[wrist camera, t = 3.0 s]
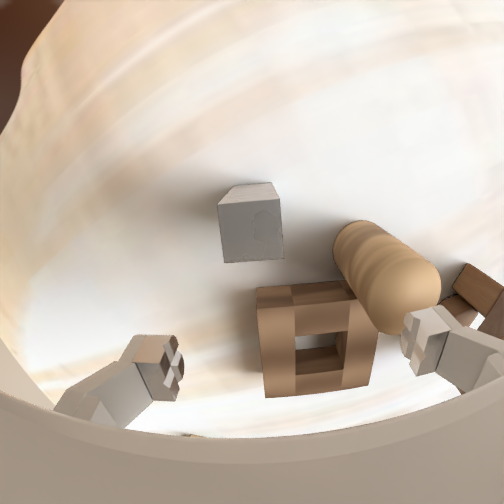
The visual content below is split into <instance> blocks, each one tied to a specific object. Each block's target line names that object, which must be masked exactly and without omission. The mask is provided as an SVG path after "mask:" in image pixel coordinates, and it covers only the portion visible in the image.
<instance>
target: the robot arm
mask: <svg viewBox="0 0 504 504" xmlns="http://www.w3.org/2000/svg"><path fill="white" fill-rule="evenodd" d="M403 323H404V324H405V326H406V328H405V329H404V330H403V331H402V333H401V338H400V346H401V350H402V353H403V355H404V356H405V357H406V358H408V359H410V364H409V365H410V367H411V369H412V370H413V372H414V374H415V376H420V375H424V374H428V373H432V372H435V371H436V372H435V373H437V374H438V375H440V376H441V377H443V378H444V379H446V380H447V381H449V382H450V383H452V384H453V385H455V386H456V387H458V388H459V389H461V390H462V391H464V392H465V394H462V395H460V396H457V397H455V398H452V399H450V400H447V401H444V402H442V403H439V404H436V405H433V406H430V407H427V408H424V409H421V410H418V411H415V412H412V413H408V414H405V415H401V416H398V417H394V418H390V419H386V420H382V421H378V422H374V423H370V424H365V425H360V426H355V427H350V428H345V429H339V430H333V431H326V432H319V433H312V434H303V435H293V436H282V437H266V438H201V437H186V436H174V435H165V434H156V433H149V432H142V431H135V430H129V429H124V428H125V427H126V426H127V425H128V424H129V423H130V422H132V421H133V420H134V419H135V418H136V417H137V416H138V415H139V414H140V413H141V412H142V411H144V410H145V409H146V408H147V407H148V406H149V405H150V404H151V403H152V402H153V400H155V401H176V398H177V394H178V391H179V385H178V382H179V381H180V380H182V378H183V375H184V361H183V357H182V354H181V353H180V352H178V351H177V348H178V345H179V344H178V342H177V339H176V337H175V336H174V335H134V336H133V338H132V339H131V341H130V343H129V344H128V346H127V348H126V349H125V351H124V353H123V354H122V356H121V358H120V359H119V361H118V362H117V361H114V362H113V363H111V364H109V365H108V366H106V367H104V368H102V369H101V370H99V371H97V372H96V373H94V374H92V375H91V376H89V377H87V378H85V379H84V380H82V381H80V382H79V383H77V384H75V385H73V386H72V387H70V388H68V389H67V390H66V391H65V393H64V394H63V396H62V397H61V399H60V400H59V402H58V403H57V405H56V406H55V408H54V410H53V411H52V410H48V409H46V408H43V407H40V406H37V405H34V404H31V403H29V402H26V401H24V400H21V399H19V398H16V397H14V396H11V395H9V394H7V393H5V392H2V391H0V504H504V340H501V339H498V338H496V337H493V336H491V335H488V334H485V333H483V332H480V331H477V330H475V329H472V328H469V327H467V326H465V327H463V326H462V325H461V324H460V323H459V322H458V321H457V320H456V319H455V318H454V317H453V316H452V315H451V314H450V313H449V311H448V310H447V309H446V308H445V307H444V306H442V305H438V306H434V307H430V308H427V309H422V310H418V311H413V312H408V313H406V315H405V317H404V322H403Z"/></svg>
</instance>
